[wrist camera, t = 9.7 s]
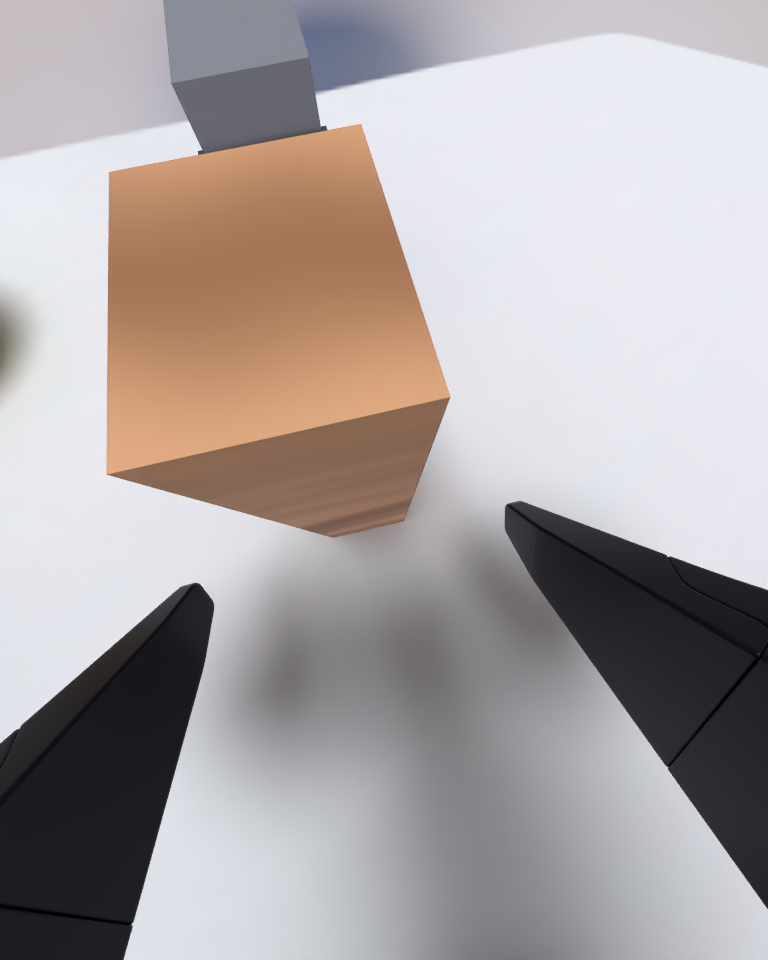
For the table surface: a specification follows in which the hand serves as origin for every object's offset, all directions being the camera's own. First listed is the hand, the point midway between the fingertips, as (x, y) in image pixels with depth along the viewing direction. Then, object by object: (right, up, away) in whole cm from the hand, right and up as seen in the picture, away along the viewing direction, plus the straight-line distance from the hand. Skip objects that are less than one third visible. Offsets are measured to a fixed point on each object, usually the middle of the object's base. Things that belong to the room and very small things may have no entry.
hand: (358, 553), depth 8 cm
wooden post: (-1, +2, +8) cm, 8 cm away
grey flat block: (-4, +16, +12) cm, 20 cm away
